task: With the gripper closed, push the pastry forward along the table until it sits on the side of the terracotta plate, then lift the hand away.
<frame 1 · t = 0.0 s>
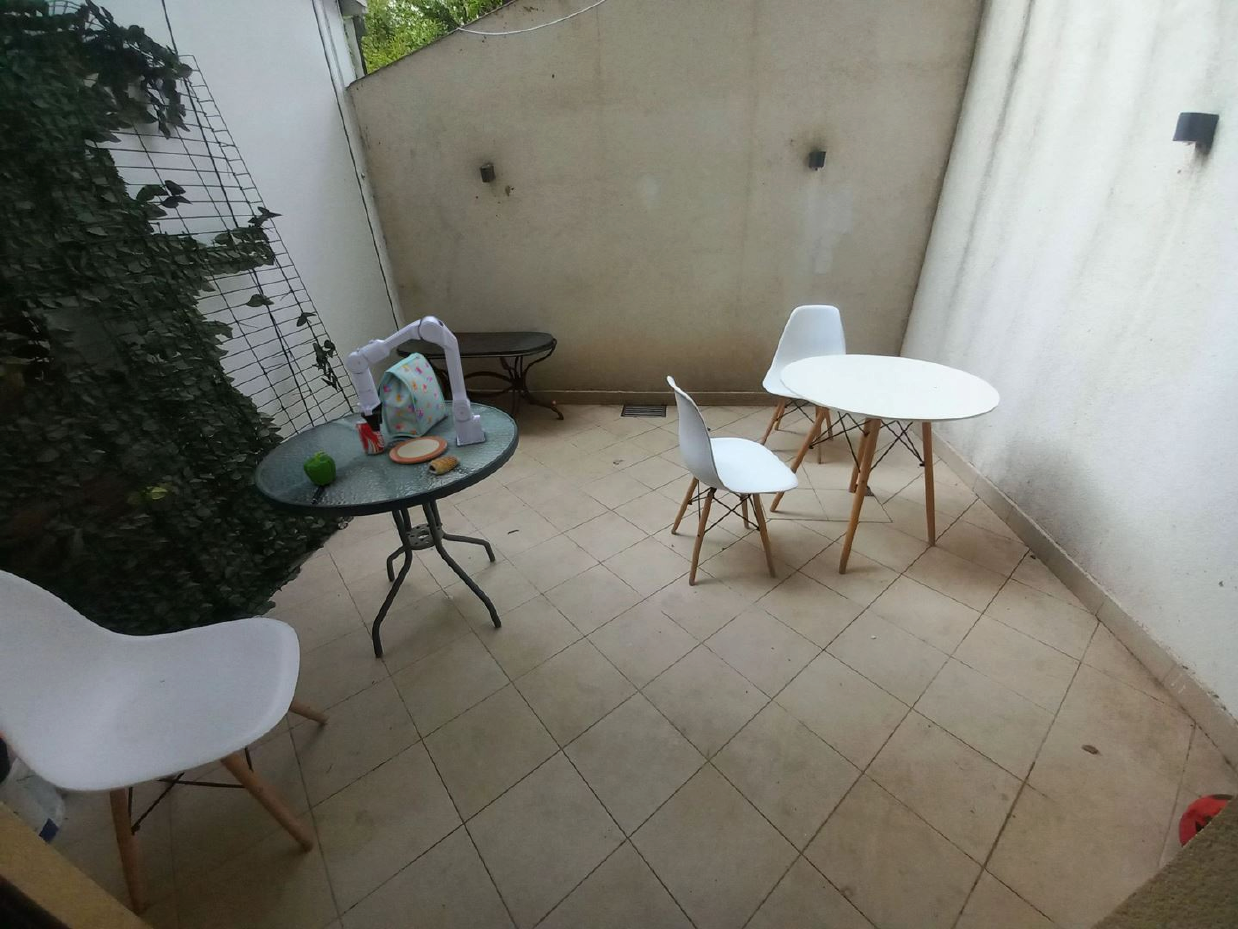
hand: (378, 427, 162), 10 cm above the table, tool pointing down, fingers open, 6 cm apart
pastry: (442, 469, 155), on the table
bell pepper: (325, 482, 152), on the table
lunch bag: (420, 427, 187), on the table
plate: (419, 452, 167), on the table
soda can: (376, 451, 169), on the table, touching gripper
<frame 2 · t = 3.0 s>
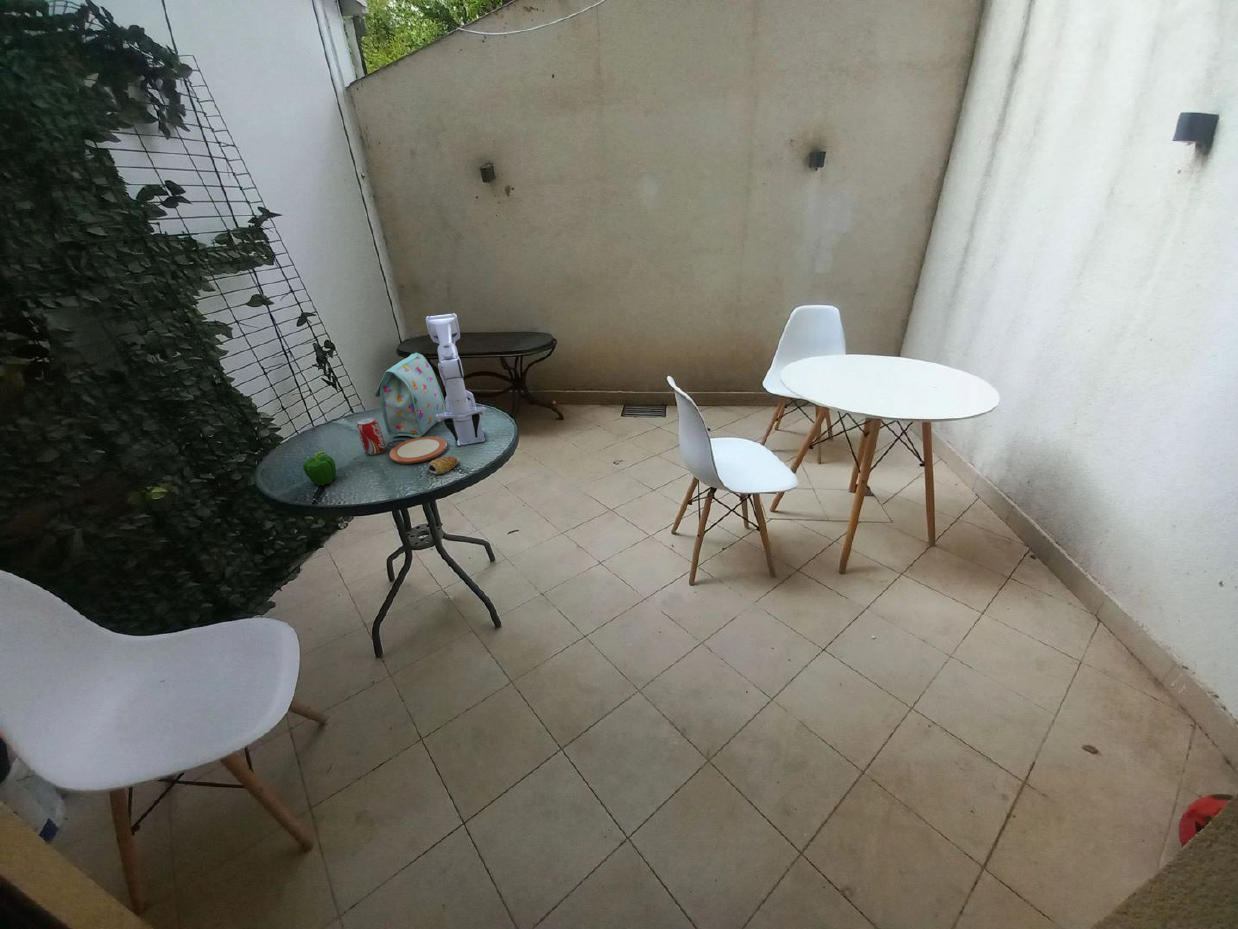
hand: (466, 438, 153), 9 cm above the table, tool pointing down, fingers open, 5 cm apart
soda can: (376, 451, 170), on the table
everything else where it was.
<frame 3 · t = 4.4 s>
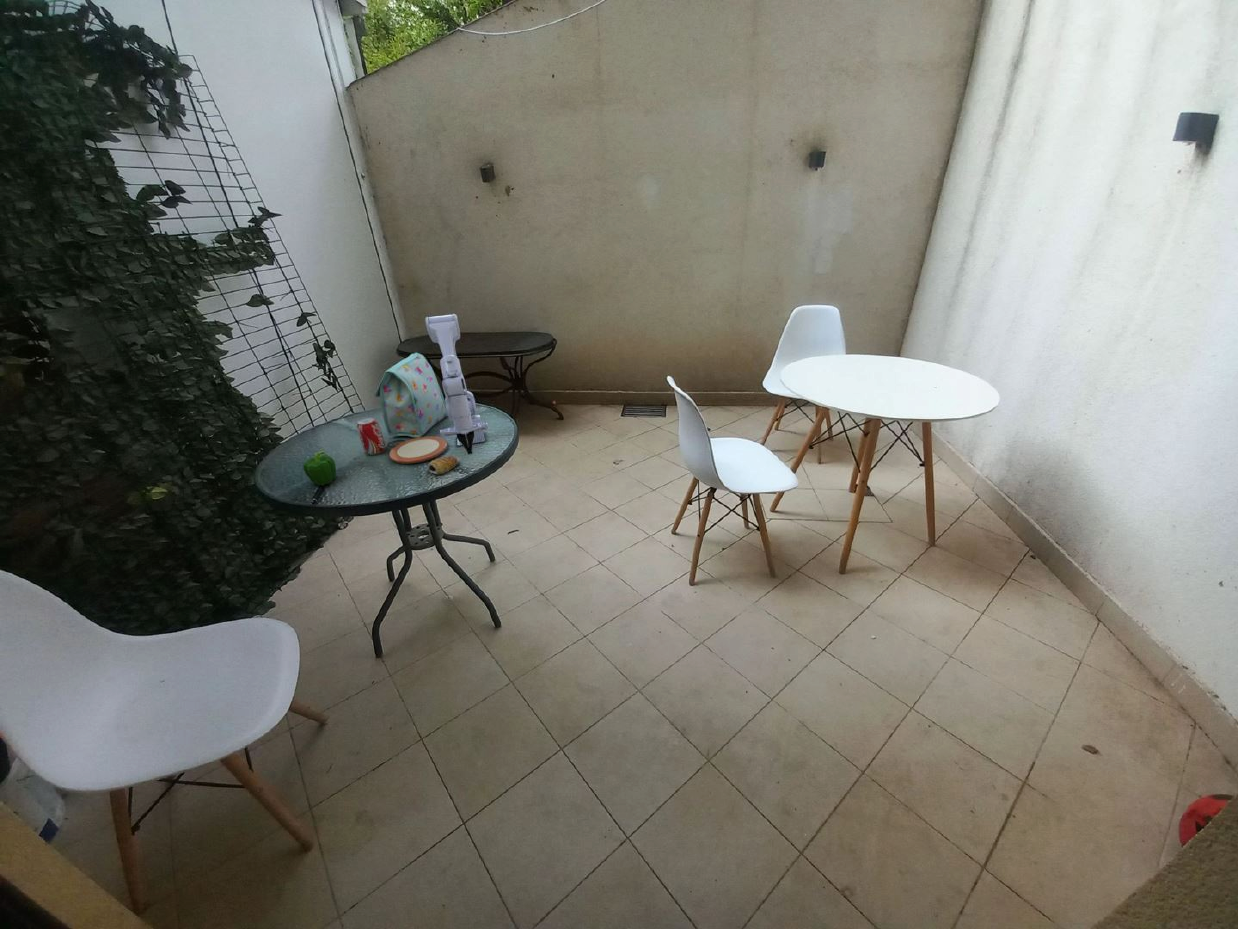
hand: (469, 452, 155), 4 cm above the table, tool pointing down, fingers closed
nothing on the table moved.
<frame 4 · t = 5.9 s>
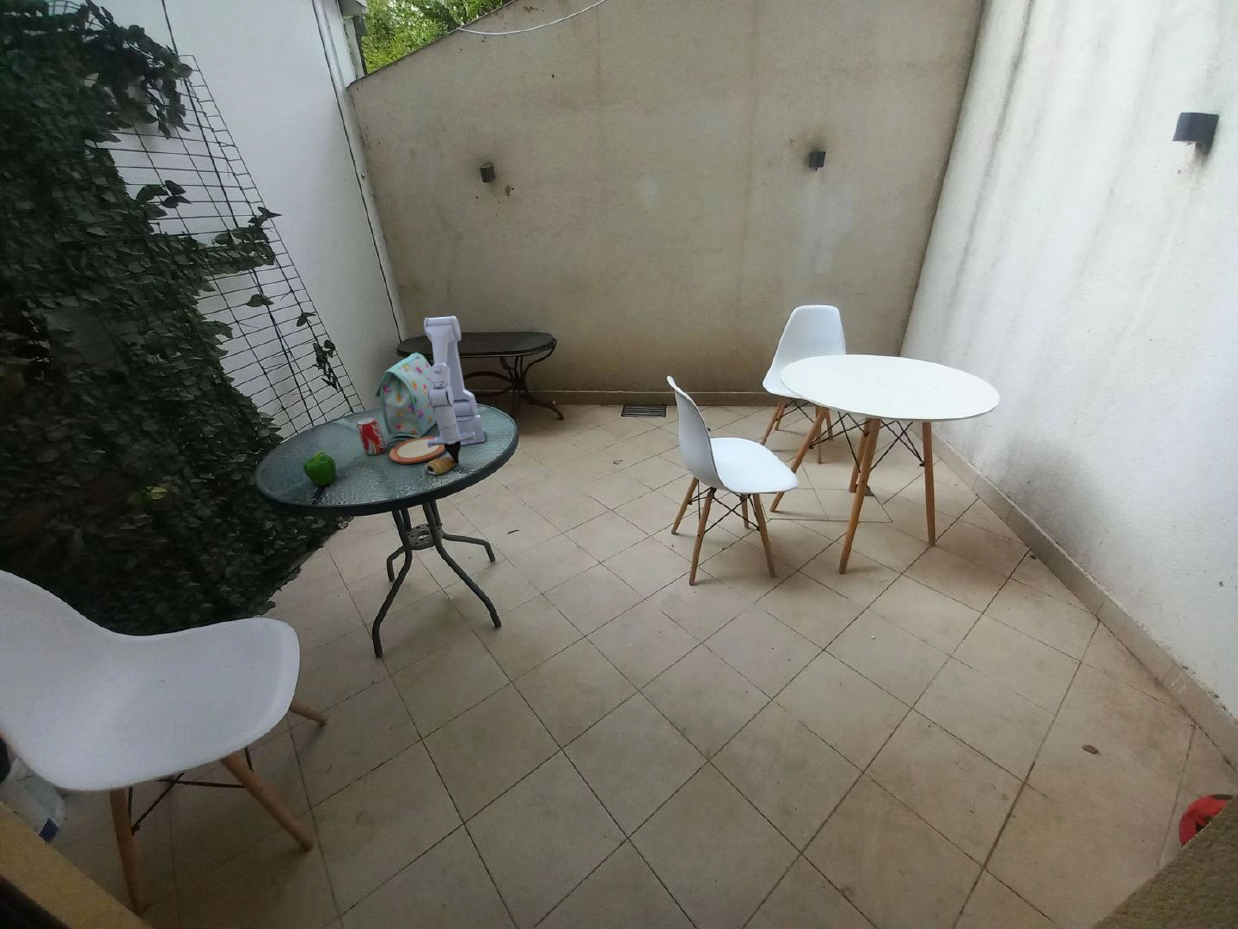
hand: (457, 462, 156), 1 cm above the table, tool pointing down, fingers closed
pastry: (441, 470, 155), on the table, touching gripper
everything else where it was.
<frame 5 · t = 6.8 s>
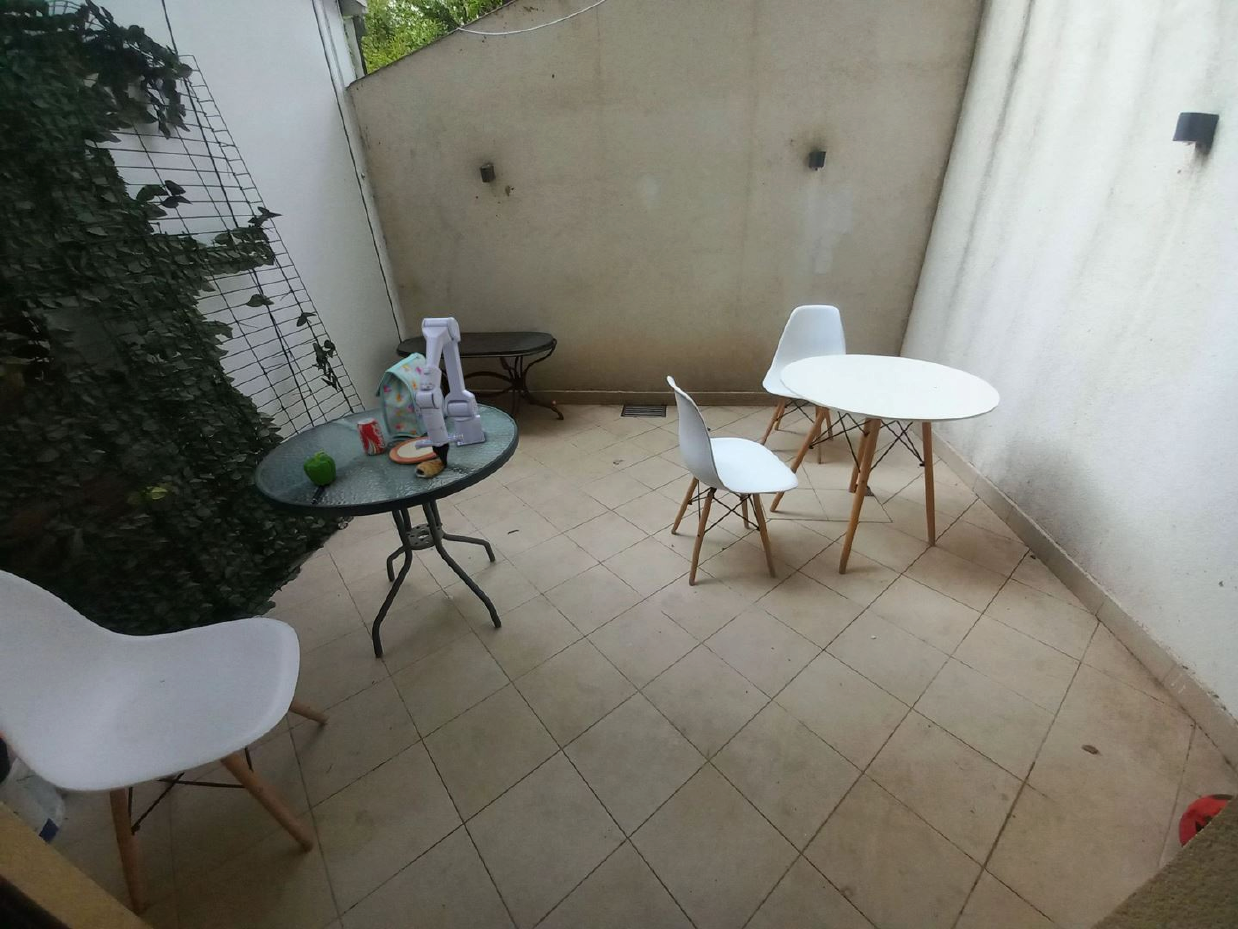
hand: (445, 464, 155), 1 cm above the table, tool pointing down, fingers closed
pastry: (430, 472, 154), on the table, touching gripper
everything else where it was.
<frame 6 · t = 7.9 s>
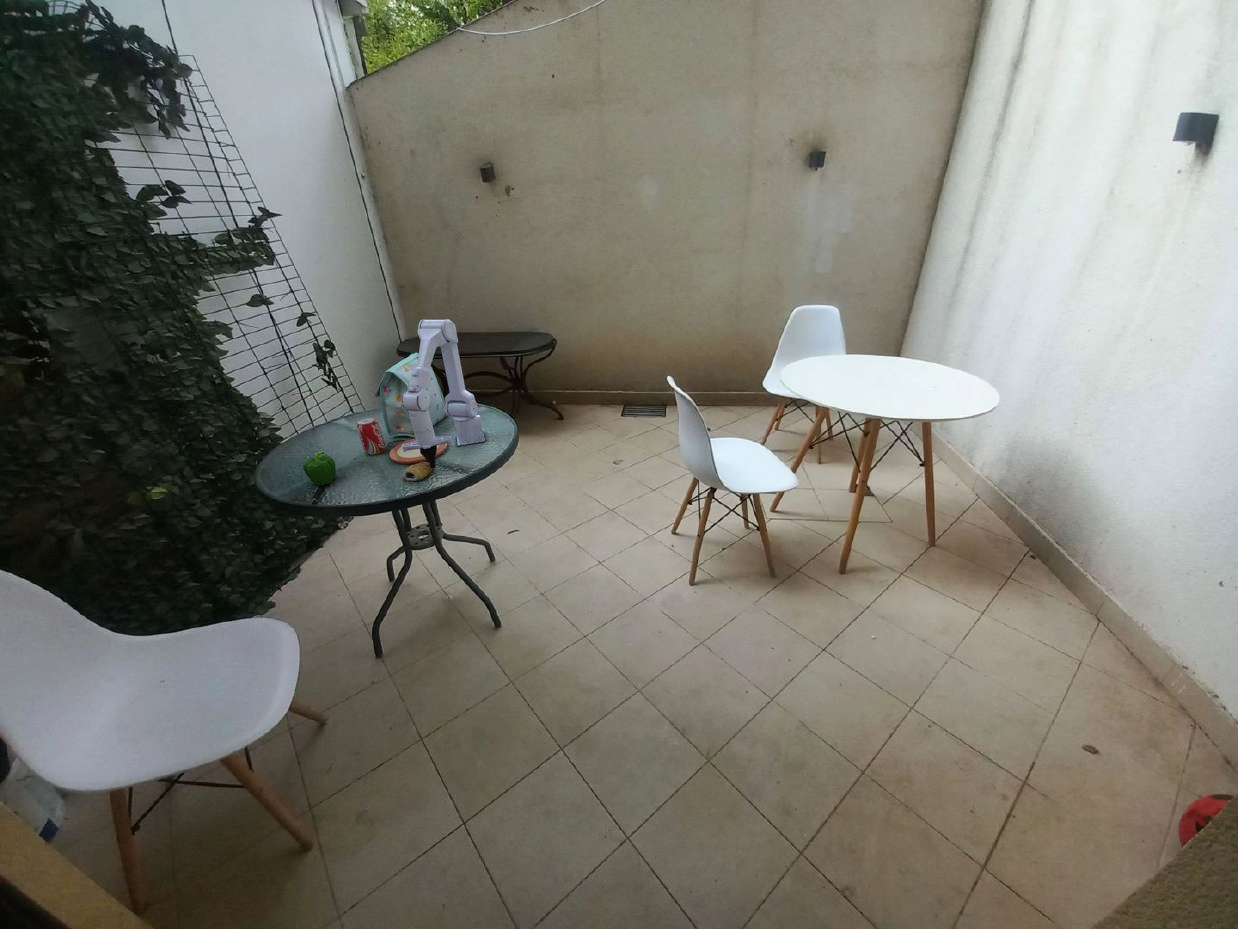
hand: (433, 466, 154), 1 cm above the table, tool pointing down, fingers closed
pastry: (418, 475, 152), on the table, touching gripper
everything else where it was.
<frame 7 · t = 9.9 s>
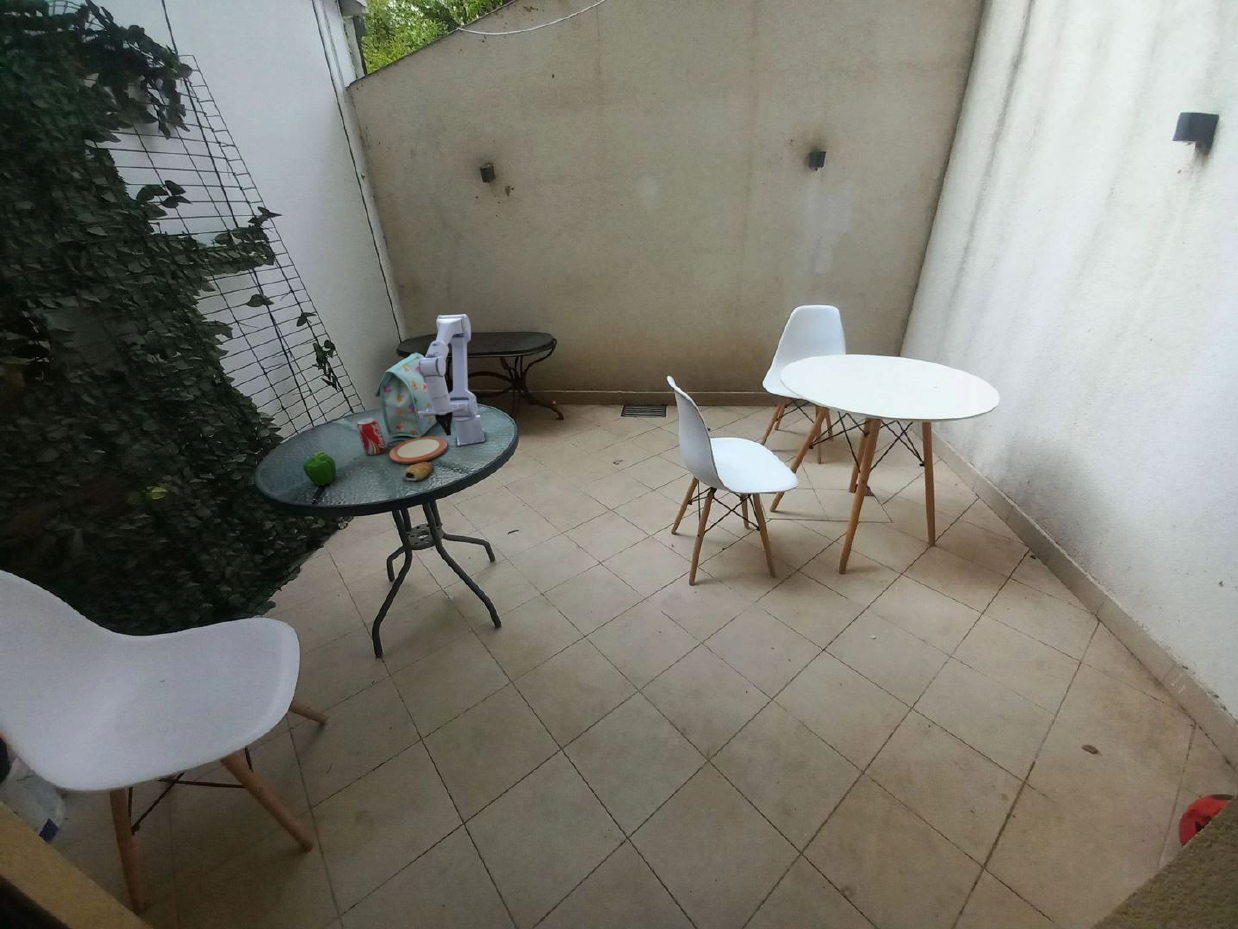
hand: (448, 434, 156), 9 cm above the table, tool pointing down, fingers closed
pastry: (418, 475, 152), on the table
everything else where it was.
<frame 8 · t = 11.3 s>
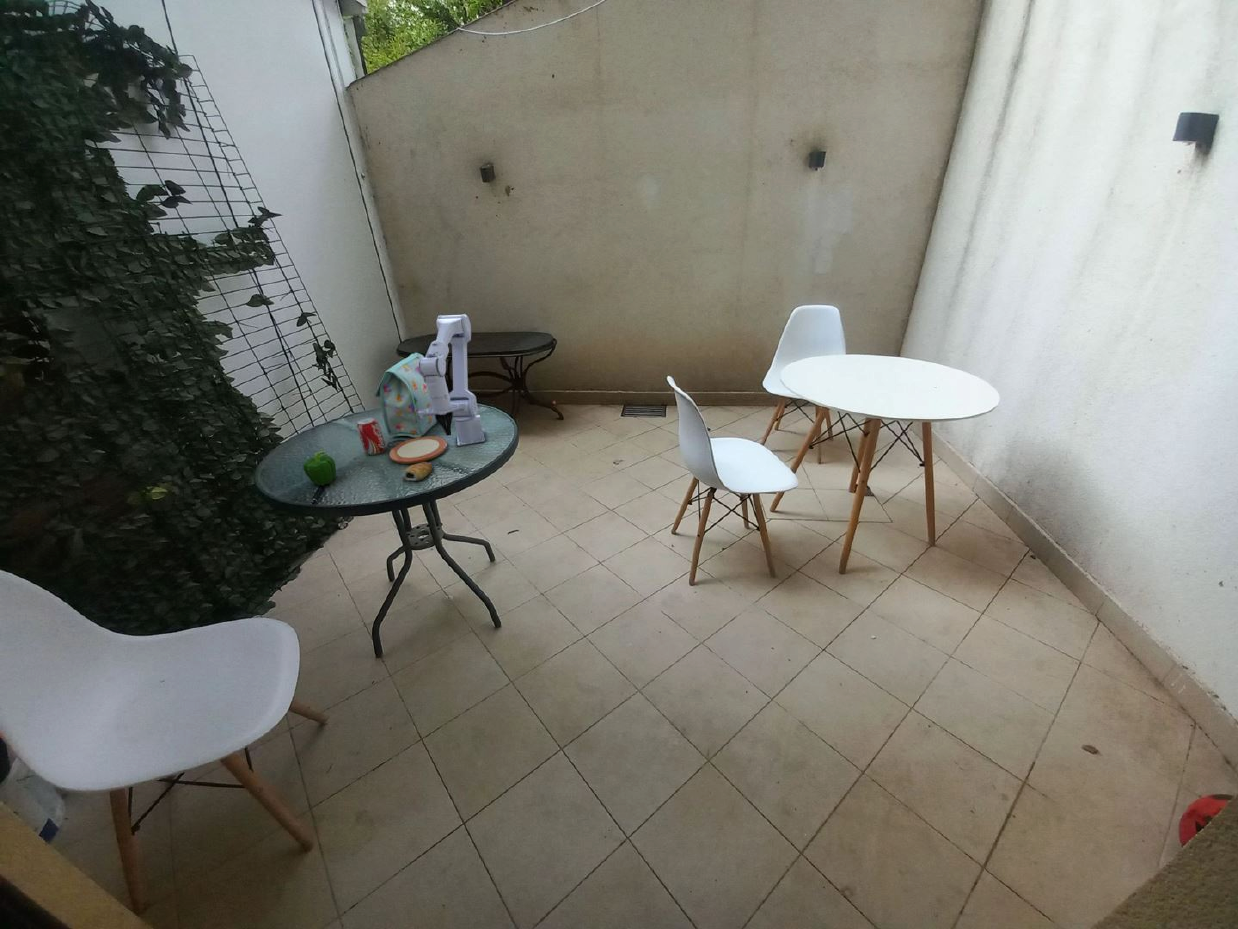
hand: (448, 434, 156), 9 cm above the table, tool pointing down, fingers closed
nothing on the table moved.
at the end: pastry inside the target area on the table beside the plate (1.4 cm from its centre), on the table; pastry moved 7.5 cm from its start; pastry tilted 0° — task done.
